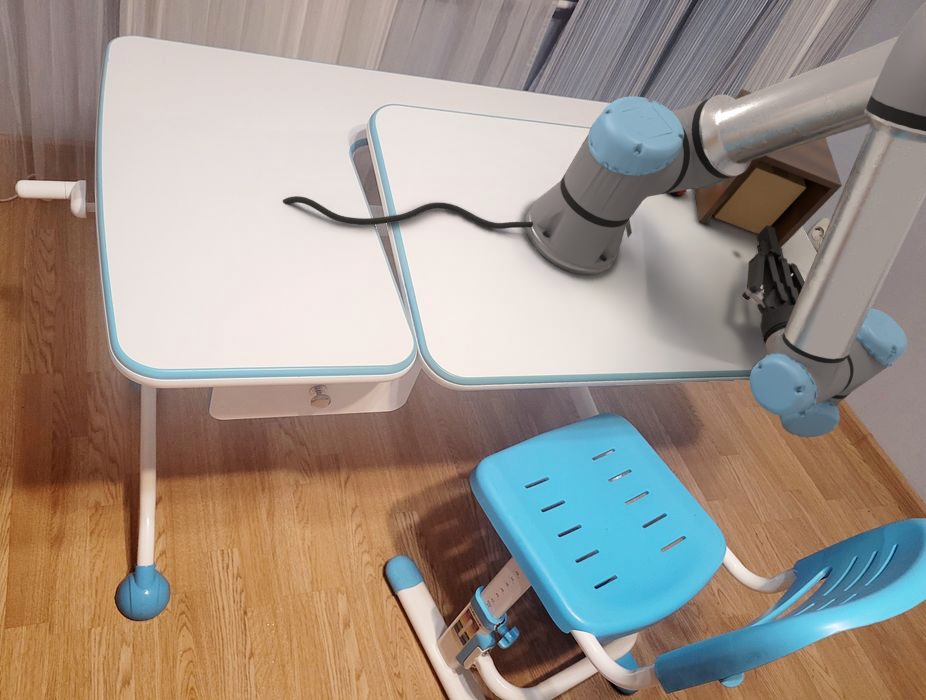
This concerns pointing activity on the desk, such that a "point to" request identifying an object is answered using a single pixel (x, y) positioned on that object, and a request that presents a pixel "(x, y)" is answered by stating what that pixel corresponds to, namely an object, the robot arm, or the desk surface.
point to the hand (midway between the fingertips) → (765, 232)
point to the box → (760, 197)
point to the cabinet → (799, 160)
